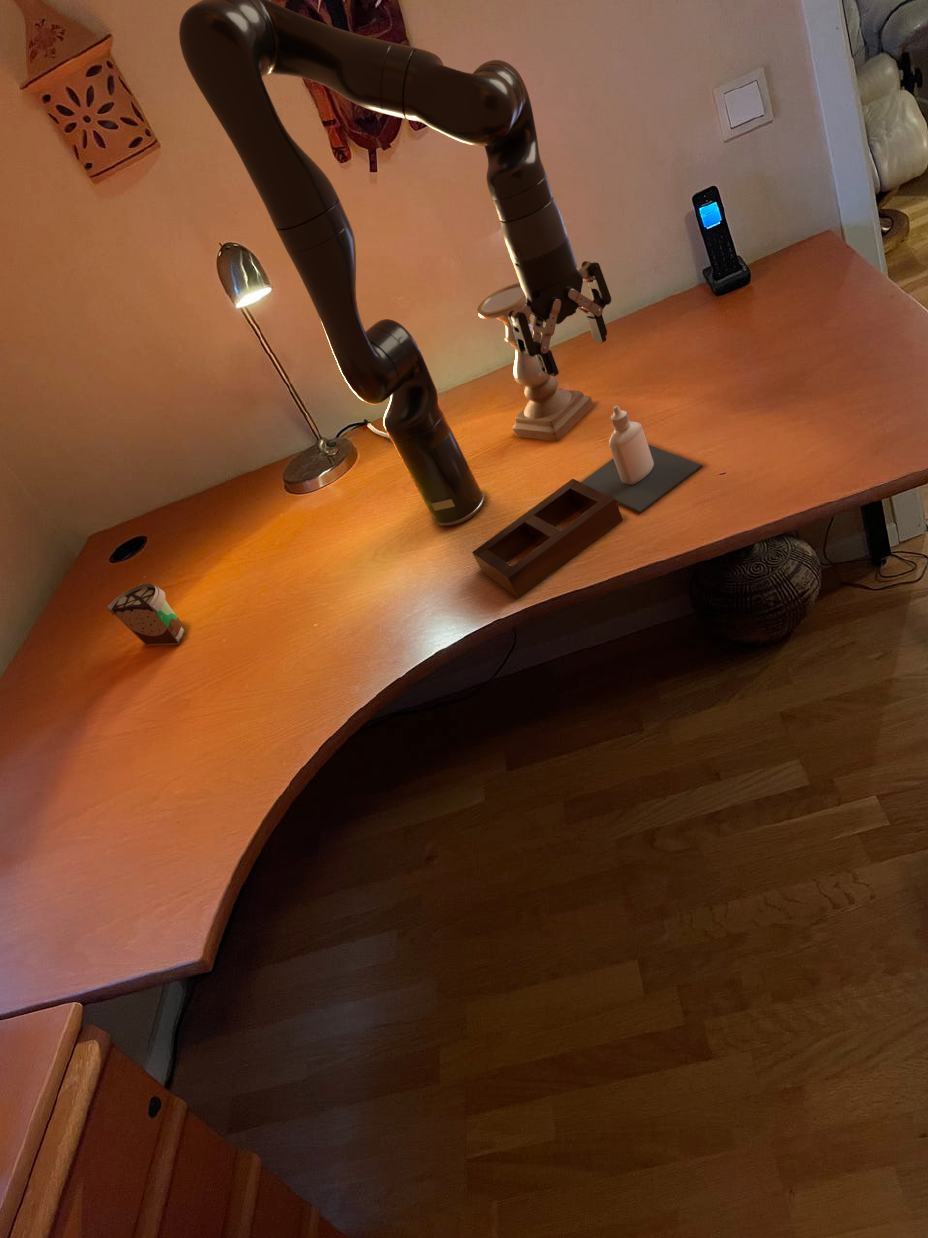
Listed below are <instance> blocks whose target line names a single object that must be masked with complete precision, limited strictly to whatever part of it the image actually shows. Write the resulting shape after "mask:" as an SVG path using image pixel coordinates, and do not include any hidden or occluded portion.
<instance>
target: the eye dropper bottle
mask: <svg viewBox="0 0 928 1238" xmlns="http://www.w3.org/2000/svg"><path fill="white" fill-rule="evenodd" d="M628 415H629V414H628V412H627V411H626V410H624V409H623V410H621V408H620V407H619V405H614V406H613V413H612V414H611V415H610V421H611V424H612V427H613V432H612V433H611V435H610V438H609V441H608V446H609V449H610V452H611V456H612V459H614V461H615V464H616V467H617V470H618V473H619V476H620V478H621V481H622V482H623V483H625V484H629V485H633V484H635V483H637V482H639V481H641V480H642V479H643V478H645V477H646V476H647V475H648V474H649V473H650V471H651V470H652V468H653V466H654V462H653V459H652V456H651V453H650V449H649V446H648V445H649V443H648V441H647V438H646V435H645V431H644V429H643V426H642V424H641V423H640V422H637V421H630V418H629V416H628Z"/></svg>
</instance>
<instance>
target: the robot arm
mask: <svg viewBox="0 0 928 1238" xmlns="http://www.w3.org/2000/svg"><path fill="white" fill-rule="evenodd" d="M178 29H179V31H178V37H179V46H180V50H181V53H182V57H183V59H184V61H185V65H186V67H187V69H188V71H189V73H190V75H191V77H192V78H193V80H194V82H195V84H196V85H197V88H198V89H199V91H200V93H201V94H202V96H203V98H204V99H205V100H206V102H207V104H208V106H209V107H210V109H211V110H212V112H213V114H214V115H215V117H216V118H217V121H218V122H219V124H220V125H221V127H222V129H223V130H224V132H225V133H226V135H227V137H228V138H229V141H231V143H232V145H233V147H234V148H235V150H236V152H237V154H238V157H239V158H240V160H241V162H242V164H243V166H244V168H245V170H246V171H247V174H248V176H249V178H250V180H251V181H252V183H253V186H254V187H255V189H256V191H257V193H258V195H259V197H260V198H261V201H262V202H263V205H264V206H265V209H266V211H267V213H268V215H269V218H270V220H271V222H272V224H273V227H274V228H275V230H276V232H277V235H278V237H279V239H280V240H281V243H282V245H283V247H284V249H285V251H286V252H287V254H288V256H289V258H290V260H291V261H292V263H293V265H294V267H295V269H296V271H297V273H298V276H299V277H300V279H301V281H302V283H303V286H304V287H305V290H306V291H307V293H308V295H309V298H310V300H311V302H312V304H313V306H314V308H315V311H316V312H317V313H316V314H317V315H318V317H319V320H320V322H321V324H322V327H323V330H324V332H325V335H326V338H327V340H328V343H329V346H330V348H331V350H332V351H331V352H332V354H333V355H334V358H335V360H336V363H337V366H338V368H339V370H340V373H341V374H342V376H343V378H344V381H345V382H346V383H347V385H348V386H349V388H350V389H351V391H352V392H353V393H354V394H355V395H356V396H357V398H358V399H360V400H361V401H363V402H365V403H367V404H370V405H379V404H382V403H383V402H385V401H386V400H387V399H389V398H390V400H389V403H388V406H387V409H386V410H385V413H384V416H383V421H382V423H383V424H382V425H383V427H384V429H385V431H386V432H384V431H382V430H379V429H377V428H376V427H374V426H373V425H372V424H371V423H370V421H369V420H368V419H367V418H363V423H364V424H365V425H366V426H367V427H368V429H369V430H370V431H371V432H373V433H374V434H376V435H378V436H380V437H384V438H387V439H389V440H390V441H391V442H392V444H393V446H394V448H395V450H396V452H397V454H398V456H399V457H400V460H401V461H402V463H403V464H404V466H405V468H406V470H407V472H408V474H409V475H410V478H411V480H412V481H413V483H414V485H415V487H416V488H417V490H418V492H419V494H420V496H421V498H422V499H423V501H424V503H425V505H426V507H427V509H428V510H429V513H430V514H431V516H432V519H433V521H434V523H435V524H436V525H438V526H439V527H444V528H445V527H447V528H448V527H453V526H457V525H460V524H462V523H465V522H467V521H468V520H470V519H472V518H473V517H474V516H475V515H478V513H479V512H481V509H482V508H483V507H484V504H485V501H486V498H485V495H484V493H483V491H482V490H481V488H480V486H479V483H478V482H477V480H476V477H475V476H474V473H473V471H472V469H471V467H470V465H469V463H468V461H467V459H466V457H465V455H464V453H463V451H462V448H461V447H460V444H459V443H458V440H457V439H456V437H455V435H454V433H453V431H452V428H451V427H450V425H449V423H448V420H447V419H446V417H445V414H444V412H443V409H442V408H441V405H440V403H439V393H438V390H437V387H436V385H435V382H434V380H433V378H432V375H431V373H430V371H429V369H428V365H427V364H426V361H425V359H424V356H423V354H422V352H421V350H420V347H419V346H418V344H417V342H416V340H415V339H414V337H413V336H412V334H411V333H410V332H409V331H408V330H407V329H406V327H404V325H402V324H401V323H399V322H398V321H396V320H393V319H390V318H385V319H380V320H378V321H377V322H375V323H374V324H372V325H371V326H370V327H368V329H367V330H365V327H364V325H363V322H362V320H361V316H360V312H359V307H358V303H357V249H356V239H355V234H354V230H353V228H352V225H351V223H350V220H349V218H348V217H347V213H346V211H345V209H344V207H343V204H342V202H341V200H340V198H339V195H338V193H337V191H336V189H335V188H334V186H333V184H332V182H331V180H330V178H329V177H328V176H327V175H326V173H324V171H323V170H322V169H321V168H320V166H318V164H317V163H316V162H315V161H314V160H313V159H312V158H311V156H309V155H308V154H307V153H306V152H305V151H304V149H302V147H300V145H298V143H297V142H296V141H295V140H294V139H293V138H292V136H291V135H290V133H289V132H288V131H287V129H286V127H285V126H284V124H283V122H282V120H281V118H280V116H279V115H278V112H277V110H276V108H275V106H274V104H273V101H272V99H271V96H270V94H269V92H268V89H267V87H266V84H265V81H264V79H263V78H264V77H266V76H288V77H297V78H302V79H306V80H309V81H312V82H316V83H318V84H320V85H323V86H324V87H326V88H329V89H330V90H332V91H334V92H335V93H337V94H339V95H340V96H342V98H345V99H346V100H348V101H350V102H352V103H353V104H355V105H358V106H359V107H362V108H364V109H367V110H369V111H373V112H376V113H379V114H383V115H388V116H392V117H395V118H399V119H404V120H408V121H413V122H419V123H422V124H424V125H425V126H427V127H429V128H431V129H432V130H434V131H436V132H438V133H440V134H443V135H445V136H447V137H449V138H450V139H453V140H455V141H458V142H460V143H463V144H466V145H470V146H477V147H484V150H485V154H486V159H487V162H488V163H487V171H486V176H485V178H486V179H485V180H486V184H487V190H488V192H489V196H490V198H491V201H492V204H493V207H494V209H495V212H496V214H497V217H498V220H499V223H500V227H501V231H502V232H501V233H502V236H503V240H504V243H505V246H506V248H507V252H508V254H509V257H510V260H511V262H512V266H513V268H514V271H515V274H516V276H517V278H518V281H519V282H518V283H520V284H521V287H522V289H523V291H524V293H525V295H526V300H527V302H526V304H525V307H523V308H521V309H519V310H518V311H510V312H509V315H508V317H509V320H510V323H511V326H512V330H513V333H514V336H515V339H516V342H517V345H518V348H519V351H520V353H521V354H525V355H529V356H531V357H533V356H535V355H536V356H537V359H538V362H539V364H540V367H541V370H542V371H543V372H544V373H545V374H548V375H550V376H553V377H555V378H556V377H557V376H558V375H559V374H560V372H559V371H560V370H559V368H558V366H557V363H556V360H555V358H554V355H553V352H552V350H550V344H551V341H552V340H551V339H552V337H553V336H554V334H555V331H556V327H557V326H556V325H560V324H561V323H563V322H564V321H565V320H566V319H567V317H571V316H573V315H574V314H576V313H577V309H578V310H579V311H581V312H583V313H585V314H586V315H587V316H585V318H586V322H587V325H588V328H589V331H590V334H591V337H592V340H593V341H594V342H595V343H598V344H604V342H606V341H607V335H608V329H607V326H606V323H605V320H604V316H603V310H604V309H605V307H606V306H609V305H611V303H612V296H611V293H610V291H609V288H608V285H607V281H606V280H605V279H606V278H605V277H604V273H603V271H602V268H601V265H600V263H599V262H595V261H589V260H586V261H583V262H582V263H581V268H579V269H577V268H578V264H577V261H576V257H575V254H574V250H573V248H572V245H571V241H570V238H569V234H568V232H567V228H566V225H565V222H564V219H563V216H562V213H561V211H560V209H559V206H558V204H557V203H556V200H555V198H554V195H553V191H552V188H551V185H550V182H549V179H548V176H547V172H546V170H545V166H544V164H543V162H542V160H541V154H540V149H539V143H538V142H539V141H538V135H537V127H536V123H535V117H534V113H533V107H532V103H531V99H530V95H529V92H528V89H527V86H526V84H525V82H524V80H523V78H522V75H521V74H520V72H519V71H518V70H517V68H515V67H514V66H513V65H511V64H510V63H508V62H507V61H504V60H501V59H492V60H488V61H486V62H485V61H484V63H482V64H480V65H479V66H478V67H477V68H476V69H475V70H474V71H473V72H472V73H471V72H466V71H462V70H459V69H455V68H453V67H449V66H447V65H444V63H443V60H442V58H440V57H439V56H438V55H437V54H435V53H434V52H431V51H428V50H425V49H422V48H418V47H413V46H410V45H406V44H401V43H397V42H392V41H387V40H382V39H378V38H374V37H370V36H366V35H362V34H359V33H355V32H351V31H348V30H345V29H341V28H338V27H335V26H332V25H329V24H326V23H324V22H321V21H318V20H315V19H313V18H310V17H308V16H305V15H303V14H300V13H297V12H295V11H293V10H290V9H289V8H287V7H284V6H282V5H280V4H278V3H276V2H274V1H271V0H200V1H197V2H196V3H194V4H193V5H192V6H190V7H188V9H187V10H186V11H184V14H183V15H182V17H181V19H180V23H179V28H178ZM584 282H586V285H587V287H588V289H589V292H590V295H591V298H592V300H591V299H590V298H588V297H587V296H586V295H583V294H582V289H583V284H584ZM531 315H532V316H534V319H533V323H531V322H532V321H531ZM544 323H545V326H544ZM529 324H532V325H533V328H532V330H533V337H532V334H531V331H530V327H529Z"/></svg>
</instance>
